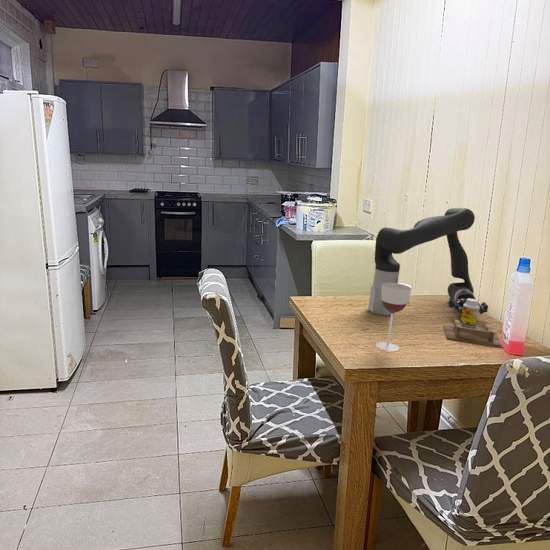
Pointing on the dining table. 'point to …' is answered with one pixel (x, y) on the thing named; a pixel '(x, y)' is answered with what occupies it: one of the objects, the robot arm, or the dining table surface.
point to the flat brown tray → (472, 334)
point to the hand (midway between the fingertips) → (469, 309)
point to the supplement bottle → (469, 313)
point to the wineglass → (393, 307)
